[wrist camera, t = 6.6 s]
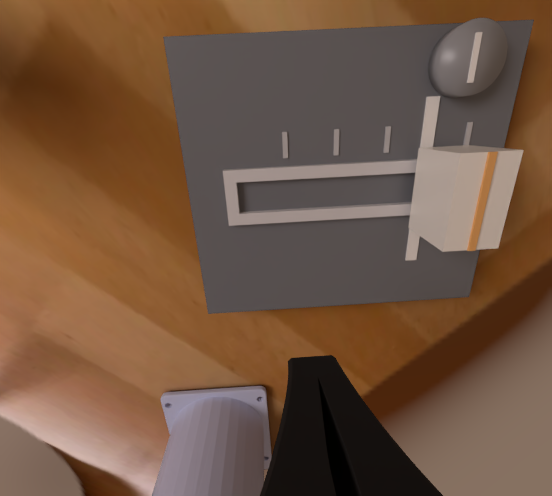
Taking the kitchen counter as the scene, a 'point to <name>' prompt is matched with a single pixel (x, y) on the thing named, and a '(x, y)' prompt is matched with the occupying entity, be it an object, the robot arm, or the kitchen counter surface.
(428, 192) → the fader cap
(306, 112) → the console
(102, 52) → the kitchen counter surface
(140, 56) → the kitchen counter surface
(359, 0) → the kitchen counter surface
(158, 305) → the kitchen counter surface
